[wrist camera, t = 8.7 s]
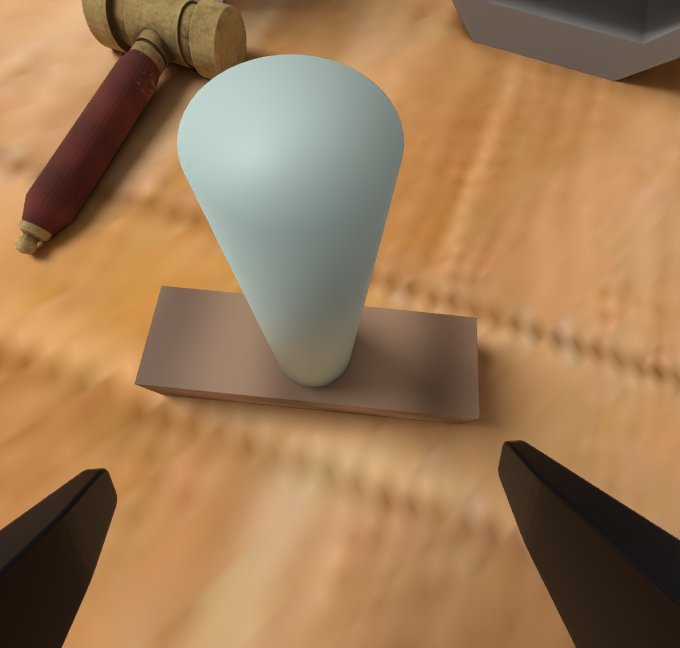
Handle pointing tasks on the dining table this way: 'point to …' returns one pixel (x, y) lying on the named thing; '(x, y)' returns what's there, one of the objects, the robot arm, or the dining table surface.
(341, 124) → the post
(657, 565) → the robot arm
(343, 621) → the dining table surface
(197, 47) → the gavel
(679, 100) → the dining table surface
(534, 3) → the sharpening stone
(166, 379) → the brown wooden block
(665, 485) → the dining table surface
